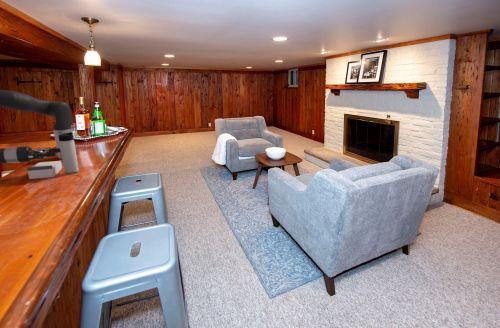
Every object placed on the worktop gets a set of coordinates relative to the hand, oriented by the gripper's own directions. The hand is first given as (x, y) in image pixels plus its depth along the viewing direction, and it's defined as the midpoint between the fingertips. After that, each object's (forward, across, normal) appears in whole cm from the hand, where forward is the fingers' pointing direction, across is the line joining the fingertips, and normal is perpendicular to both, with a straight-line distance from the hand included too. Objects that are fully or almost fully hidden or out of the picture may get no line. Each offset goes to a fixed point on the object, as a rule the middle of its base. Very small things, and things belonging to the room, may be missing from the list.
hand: (57, 152), depth 146 cm
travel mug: (+5, 0, +11) cm, 12 cm away
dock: (-7, +3, +11) cm, 14 cm away
